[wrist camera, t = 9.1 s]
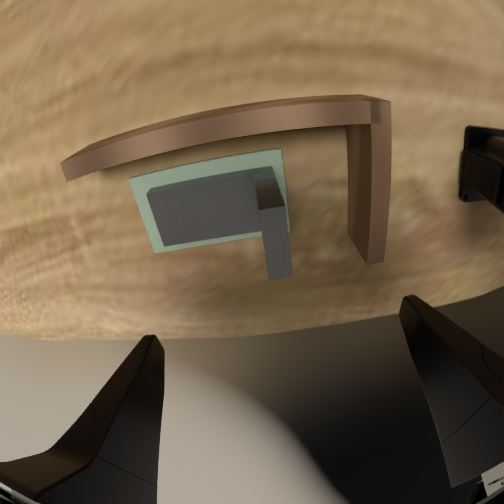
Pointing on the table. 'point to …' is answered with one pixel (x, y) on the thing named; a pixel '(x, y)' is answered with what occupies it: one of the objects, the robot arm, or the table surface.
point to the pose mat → (199, 170)
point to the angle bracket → (226, 212)
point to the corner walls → (270, 120)
